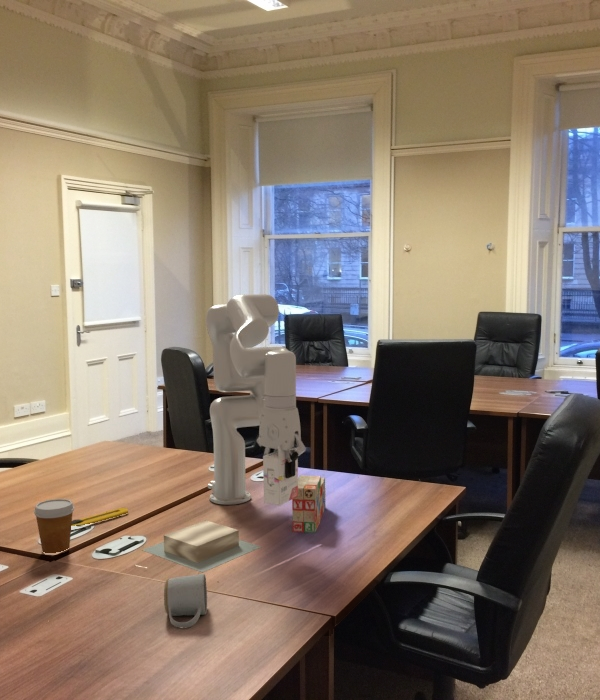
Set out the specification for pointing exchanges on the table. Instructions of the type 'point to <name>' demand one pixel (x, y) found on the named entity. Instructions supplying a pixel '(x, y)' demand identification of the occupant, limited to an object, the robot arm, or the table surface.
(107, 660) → the table surface
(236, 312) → the robot arm
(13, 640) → the table surface
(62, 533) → the disposable coffee cup
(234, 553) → the mat
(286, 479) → the ink cartridge box
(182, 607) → the ceramic mug
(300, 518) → the stack of blocks
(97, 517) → the utility knife
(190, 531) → the base block
